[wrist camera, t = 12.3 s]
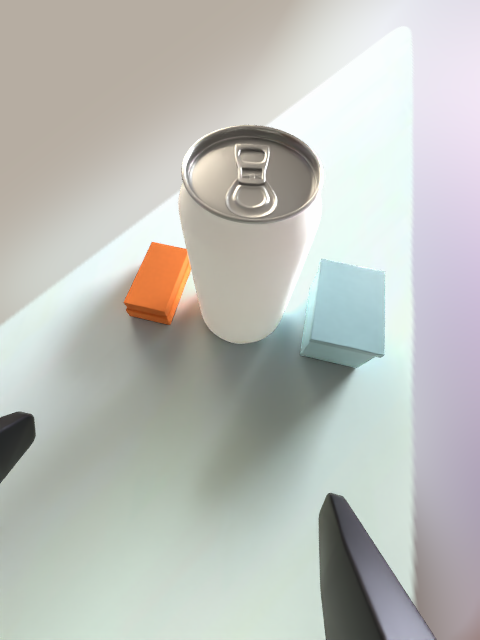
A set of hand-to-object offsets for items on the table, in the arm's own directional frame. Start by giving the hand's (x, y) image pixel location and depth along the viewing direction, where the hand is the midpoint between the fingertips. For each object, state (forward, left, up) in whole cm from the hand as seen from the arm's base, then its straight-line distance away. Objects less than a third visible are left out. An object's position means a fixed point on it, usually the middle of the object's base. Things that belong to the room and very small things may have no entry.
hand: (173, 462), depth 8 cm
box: (+10, -9, -10) cm, 16 cm away
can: (+11, -1, -10) cm, 15 cm away
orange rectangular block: (+12, +5, -10) cm, 16 cm away
